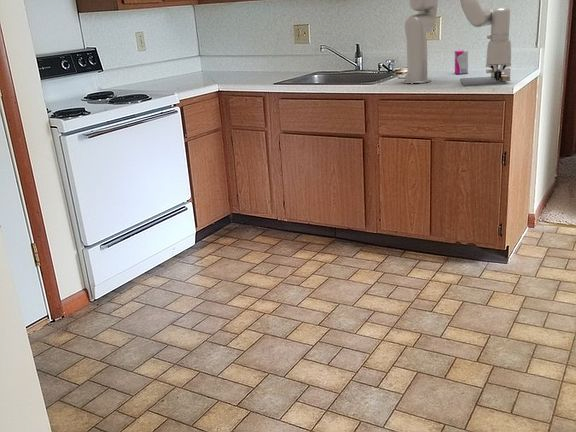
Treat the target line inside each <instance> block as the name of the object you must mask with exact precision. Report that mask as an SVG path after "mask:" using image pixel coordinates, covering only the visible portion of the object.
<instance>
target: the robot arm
mask: <svg viewBox="0 0 576 432" xmlns="http://www.w3.org/2000/svg"><path fill="white" fill-rule="evenodd" d="M438 2H439V0H409V6H410V8H411V10H413V11H416V12H417V13H415V14H411V15H410V16H409V17H407V18H406V20H405V22H404V33H405V39H406V64H407V66H406V67H407V68H406V70H407V72H406V73H405V74H398V75H397V79H398V80H403V79H404V84H407V83H411V84H410V85H412V84H413V83H420V84H427V83H430V82H431V81H432V80H431V78H429V77H428V41H427V36H426V34H428V33H430V32H432V31H433V30H434V28H435V25H436V21H437V14H438V13H437V12H438V5H439V3H438ZM460 5H461V9H462V12H463V13H464V16H465V17H466V19H467V21H468V22H469V24H470V25H471V26H473V27H474V28H481V27H486V26H490V34H488V35H486V38H487V39H488V40H489V41H488V43H487V48H486V63H485V68H488V69H493V70H494V71H495V73H494V79H496V81H497V80H498V81H499V80H500V79H501V74H503V72H502V70H503V69H505V68H509V67H511V66H512V62H511V61H512V43H511V40H510V19H511V10H510V8H508V7H498V8H497V7H496V8H493V7H492V8H491V7H482V6H481V4H480V3H479V1H478V0H460ZM496 65H498V66H499V68H498V69H499V71H498V70H497V66H496ZM426 82H427V83H426ZM413 85H414V84H413Z"/></svg>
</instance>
